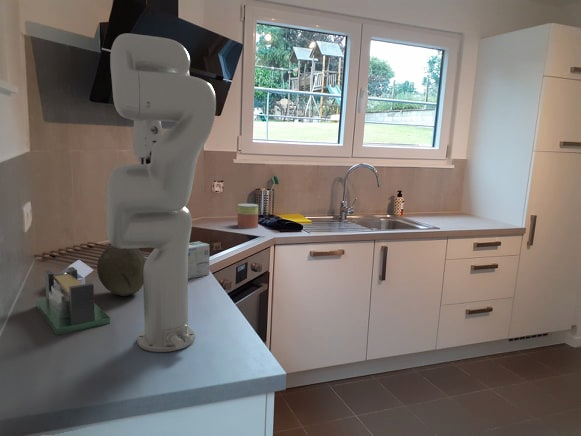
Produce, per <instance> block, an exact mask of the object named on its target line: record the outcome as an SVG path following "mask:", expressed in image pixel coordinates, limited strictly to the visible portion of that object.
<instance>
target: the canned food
mask: <svg viewBox="0 0 581 436" xmlns="http://www.w3.org/2000/svg"><path fill="white" fill-rule="evenodd" d="M236 225H237V226H236V227H237V228H239V229H246V230H247V229H248V230H251V229H257V228H259V204H256V203H238V204H237V224H236Z"/></svg>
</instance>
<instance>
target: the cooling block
mask: <svg viewBox="0 0 581 436" xmlns="http://www.w3.org/2000/svg"><path fill="white" fill-rule="evenodd" d="M68 270H69V272H70V274H71V275H72V276H73V277H74V278H75V279H76V280H78V279H77V270H76V269H75V268H74V267H69V268H68ZM53 274H54V273H53V272H52V271H51V270H50V269H49V270H48V269H47V270H44V278H45V295H46V296H45V297H46V299H40V300H36V301H35V307H36V308H37V310H38V311H39V313H40V314H41V315H42V316H43V318H44V320H45V321H46V322H47V324H48V325H49V327H50V328H51V329H52V331H53V332H54V334H56V336H58V335H63V334H67V333H72V332H77V331H81V330H87V329H90V328H94V327H98V326H103V325H104V326H105V325H108V324H111V318H110V316H109V315H108V314H107V313H106V312H105V311H104V310H103V309H102V308H100V307H99V305H97V304H96V303H95V293H94V292H95V290H94V289H95V288H94V284H93V283H92V282H89V283H85V284H82V283H81V284H82V285H77V286H70V287H69V294H70V296H69V295H68V294H67V293H66V292H65V291H64V290H63V289H62V288H61V287H60V290H58V289H57V288H56V286H55V285H54V275H53Z"/></svg>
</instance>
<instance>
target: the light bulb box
mask: <svg viewBox="0 0 581 436" xmlns="http://www.w3.org/2000/svg"><path fill="white" fill-rule="evenodd" d="M209 275H210V244H209V243H206V242H202V241H199V240H198V241H194V242H189V249H188V280H190V279H194V278H198V277H203V276H209Z"/></svg>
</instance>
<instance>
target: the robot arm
mask: <svg viewBox="0 0 581 436" xmlns="http://www.w3.org/2000/svg"><path fill="white" fill-rule="evenodd" d="M109 57H110V58H109V59H110V60H109V61H110V62H109V63H110V74H111V87H112V98H113V99H112V100H113V104H114V108H115V110H116V112H117V113H118V114H119V116H121V117H123V118H124V119H128V120H131V121H133V130H132V132H133V133H132V150H133V151H132V152H133V155H134V156H135V157H136V158H137V161H138V162H139V164H137V163H131V164H130V163H128V164H127V163H126V164H120V165H117V166H115V167H114V168H113V169H112V170H111V172H110V173H109V177H108V179H107V188H106V189H107V190H106V235H107V239H108V242H109V243H110V244H111V246H112V245H113V246H114V247H116V248H120V249H130V248H138V249H140V248H141V249H142V248H145V249H146V248H151V249H152V248H153V250H152V251H151V252H150V254H149V255H148V256H147V258H146V262H145V264H144V269H143V278H144V280H143V281H144V284H143V321H144V323H143V325H144V327H143V328H144V330H143V331H141V332H140V333H139V334H138V336H137V339H136V340H137V345H138V346H139V348H141V349H142V350H144V351H145V350H146V351H147V352H148V351H149V352H153V353H168V352H174V351H179V350H182V349H184V348H187V347H188V346H190V345H191V344H193V343H194V341H195V337H196V335H195V331H194V330H193V329H192V328H190V327H189V322H188V321H189V319H188V316H189V315H188V314H189V309H188V308H189V300H188V299H189V292H188V291H189V289H188V288H189V284H188V283H189V281H188V280H189V279H188V249H189V243H190V240H191V234H192V228H193V217H192V213H191V212H190V210H189V208H187V205H188V204H189V202H190V198H191V194H192V191H193V190H192V189H193V183H194V179H195V175H196V169H197V162H198V159H199V157H200V154H201V152H202V151H203V148H204V146H205V145H206V142H207V141H208V139H209V137H210V134H211V132H212V129H213V125H214V123H215V117H216V111H217V110H216V108H217V98H216V93H215V90H214V88H213V86H212V84H211V83H209V82H208V81H206V80H204V79H202V78H200V77H196V76H192V75H190V67H191V58H190V54H189V52H188V51H187V49H186V48H185V46H184V45H183V44H182V43H180V42H178V41H177V40H174V39H171V38H166V37H161V36H152V35H146V34H144V35H143V34H139V33H138V34H136V33H129V32H128V33H122V34H119V35H118V36H117V37H116V38H115V39H114V41H113V43H112V46H111V49H110V56H109ZM162 122H172V123H173V122H175V124H174V125H173V126H172V127H171V128H169V129H168V130H166V131H164V133H163V128H162Z"/></svg>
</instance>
